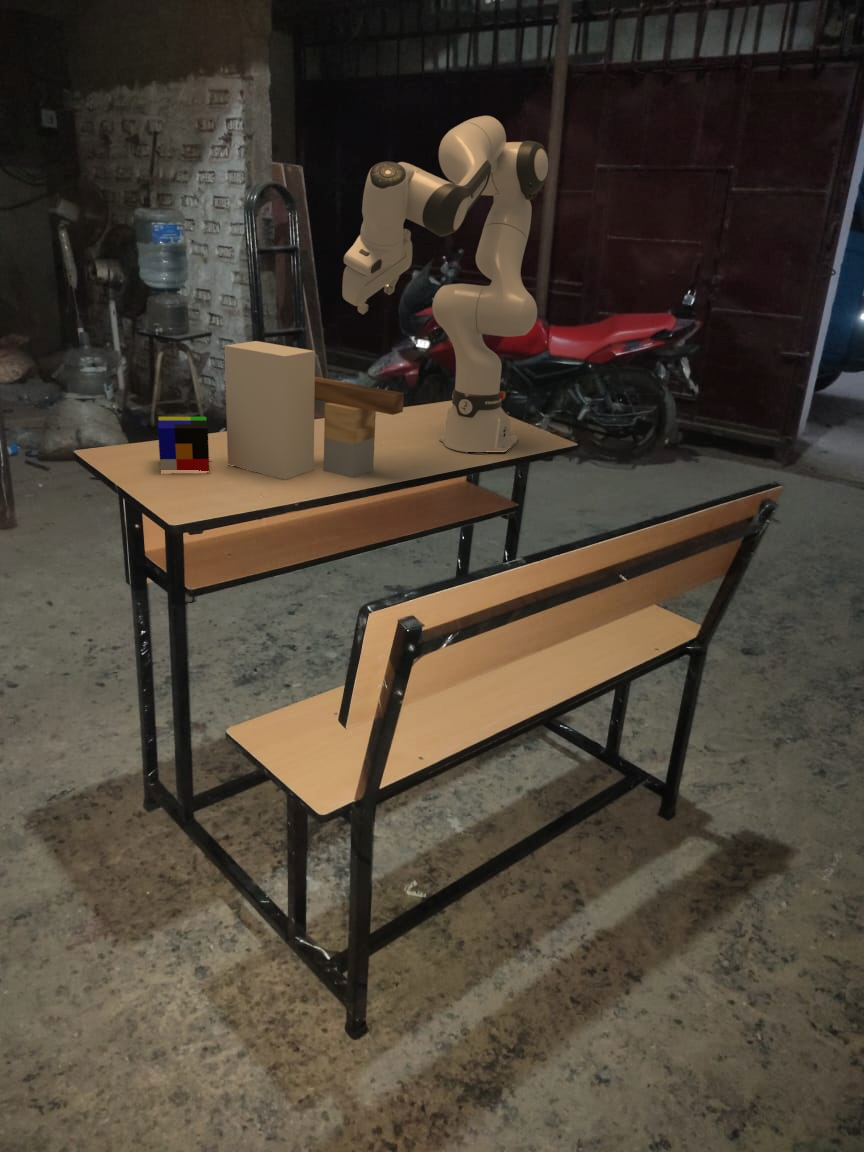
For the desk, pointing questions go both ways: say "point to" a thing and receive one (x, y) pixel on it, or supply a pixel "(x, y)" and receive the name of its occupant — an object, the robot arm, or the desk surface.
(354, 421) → the tower top
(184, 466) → the puzzle toy
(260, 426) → the tall beige box
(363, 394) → the walnut bar
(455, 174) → the robot arm
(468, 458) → the desk surface
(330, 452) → the tower bottom
